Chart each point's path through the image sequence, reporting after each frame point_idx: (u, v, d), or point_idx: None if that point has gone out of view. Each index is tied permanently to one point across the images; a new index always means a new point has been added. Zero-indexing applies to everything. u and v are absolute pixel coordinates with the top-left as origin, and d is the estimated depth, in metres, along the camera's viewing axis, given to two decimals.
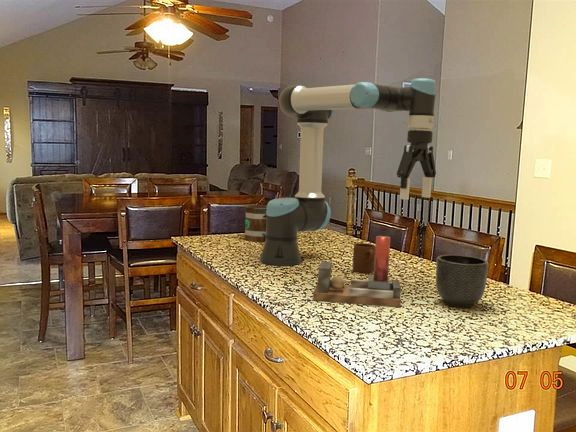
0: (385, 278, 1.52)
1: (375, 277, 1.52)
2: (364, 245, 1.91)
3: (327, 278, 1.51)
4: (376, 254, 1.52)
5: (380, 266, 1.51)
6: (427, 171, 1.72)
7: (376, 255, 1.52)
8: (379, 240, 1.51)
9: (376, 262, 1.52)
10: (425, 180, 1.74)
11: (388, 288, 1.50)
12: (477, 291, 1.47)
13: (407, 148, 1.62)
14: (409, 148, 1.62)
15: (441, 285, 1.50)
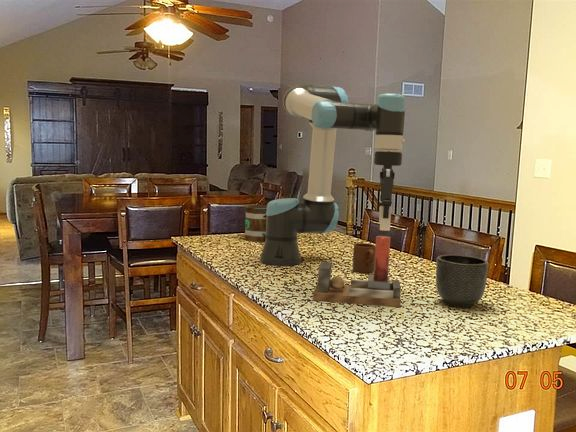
0: (385, 278, 1.52)
1: (375, 277, 1.52)
2: (364, 245, 1.91)
3: (327, 278, 1.51)
4: (376, 254, 1.52)
5: (380, 266, 1.51)
6: None
7: (376, 255, 1.52)
8: (379, 240, 1.51)
9: (376, 262, 1.52)
10: None
11: (388, 288, 1.50)
12: (477, 291, 1.47)
13: (387, 172, 1.43)
14: (390, 172, 1.43)
15: (441, 285, 1.50)
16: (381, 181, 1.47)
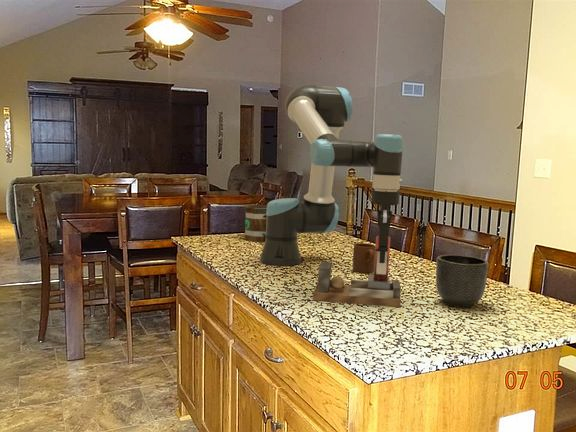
0: (385, 278, 1.52)
1: (375, 277, 1.52)
2: (364, 245, 1.91)
3: (327, 278, 1.51)
4: (376, 254, 1.52)
5: None
6: None
7: (376, 255, 1.52)
8: None
9: (376, 262, 1.52)
10: None
11: (388, 288, 1.50)
12: (477, 291, 1.47)
13: (384, 220, 1.45)
14: (387, 220, 1.45)
15: (441, 285, 1.50)
16: (378, 223, 1.49)
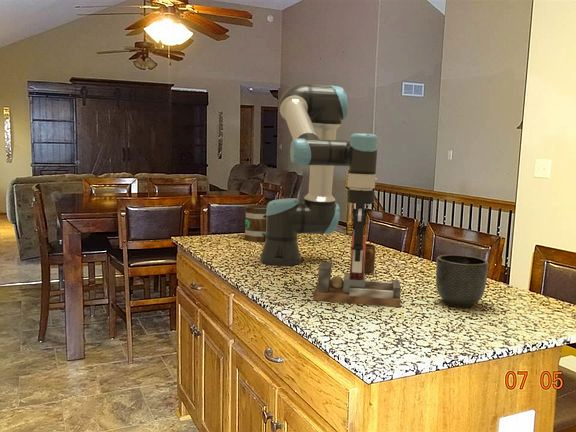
0: (361, 276, 1.53)
1: (351, 275, 1.53)
2: None
3: (327, 278, 1.51)
4: (352, 252, 1.53)
5: None
6: None
7: (352, 253, 1.53)
8: None
9: (352, 260, 1.53)
10: None
11: (364, 286, 1.51)
12: (477, 291, 1.47)
13: (359, 218, 1.46)
14: (361, 218, 1.46)
15: (441, 285, 1.50)
16: (353, 222, 1.50)
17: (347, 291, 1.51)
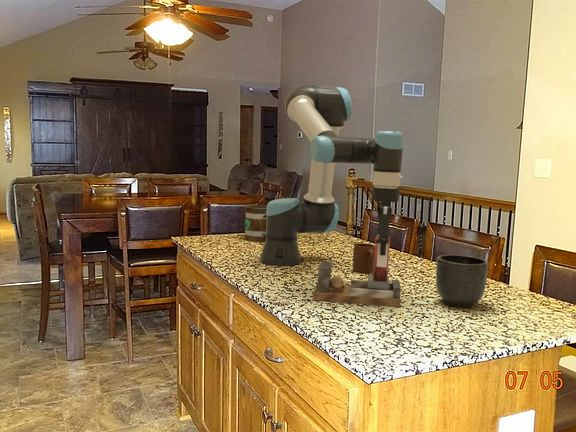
0: (385, 278, 1.52)
1: (375, 277, 1.52)
2: (364, 245, 1.91)
3: (327, 278, 1.51)
4: (376, 254, 1.52)
5: None
6: None
7: (376, 255, 1.52)
8: None
9: (376, 262, 1.52)
10: None
11: (388, 288, 1.50)
12: (477, 291, 1.47)
13: (385, 210, 1.44)
14: (387, 210, 1.44)
15: (441, 285, 1.50)
16: (378, 217, 1.48)
17: None
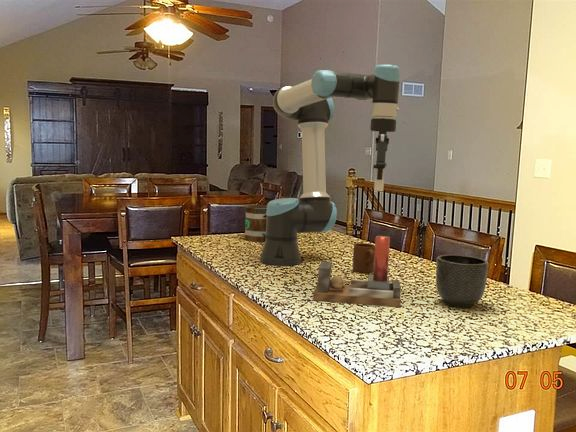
0: (385, 278, 1.52)
1: (375, 277, 1.52)
2: (364, 245, 1.91)
3: (327, 278, 1.51)
4: (376, 254, 1.52)
5: (380, 266, 1.51)
6: None
7: (376, 255, 1.52)
8: (378, 240, 1.51)
9: (376, 262, 1.52)
10: None
11: (388, 288, 1.50)
12: (477, 291, 1.47)
13: (382, 137, 1.55)
14: (384, 137, 1.55)
15: (441, 285, 1.50)
16: (376, 146, 1.59)
17: None
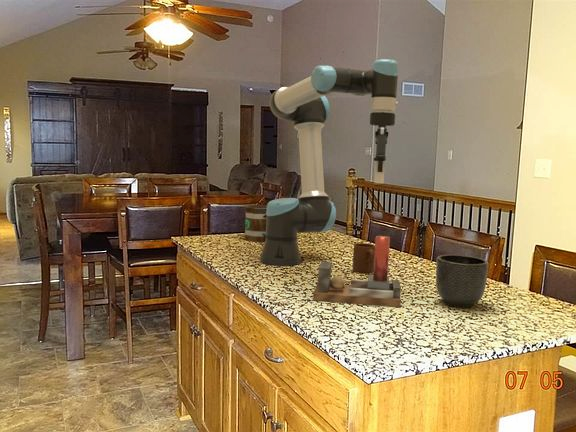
0: (385, 278, 1.52)
1: (375, 277, 1.52)
2: (364, 245, 1.91)
3: (327, 278, 1.51)
4: (376, 254, 1.52)
5: (380, 266, 1.51)
6: None
7: (376, 255, 1.52)
8: (378, 240, 1.51)
9: (376, 262, 1.52)
10: None
11: (388, 288, 1.50)
12: (477, 291, 1.47)
13: (382, 130, 1.58)
14: (384, 130, 1.58)
15: (441, 285, 1.50)
16: (376, 139, 1.62)
17: None
